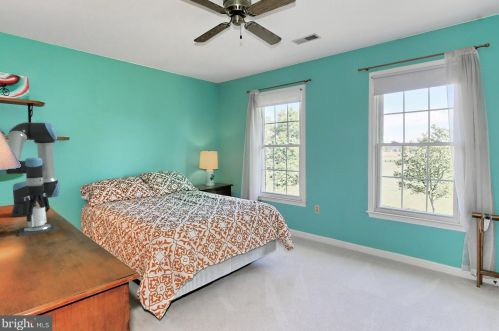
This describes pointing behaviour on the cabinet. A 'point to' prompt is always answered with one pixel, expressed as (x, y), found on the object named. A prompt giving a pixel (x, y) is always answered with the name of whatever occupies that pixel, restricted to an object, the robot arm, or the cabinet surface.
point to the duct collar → (37, 229)
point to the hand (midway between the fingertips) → (37, 224)
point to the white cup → (38, 216)
